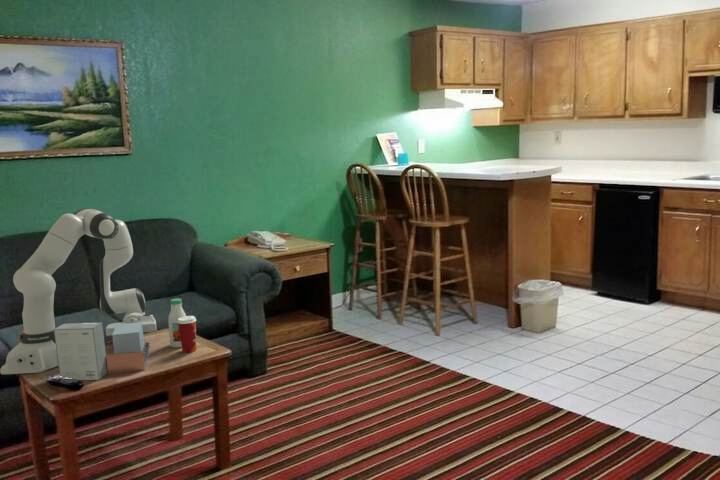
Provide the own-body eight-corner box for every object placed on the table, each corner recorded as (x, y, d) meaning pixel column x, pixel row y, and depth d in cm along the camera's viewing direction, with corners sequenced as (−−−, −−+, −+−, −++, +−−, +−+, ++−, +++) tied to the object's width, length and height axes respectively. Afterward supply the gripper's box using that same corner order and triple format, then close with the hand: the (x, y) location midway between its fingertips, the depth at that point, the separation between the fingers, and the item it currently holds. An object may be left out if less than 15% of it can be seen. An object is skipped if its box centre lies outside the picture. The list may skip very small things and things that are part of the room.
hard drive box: (109, 373, 247) (103, 322, 244) (99, 380, 240) (93, 328, 237) (70, 373, 249) (64, 322, 246) (59, 380, 242) (52, 328, 238)
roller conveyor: (108, 374, 246) (106, 356, 245) (117, 350, 274) (115, 334, 272) (144, 369, 249) (142, 352, 248) (149, 346, 276) (148, 331, 275)
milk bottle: (167, 348, 274) (163, 301, 271) (175, 342, 282) (171, 297, 278) (184, 348, 273) (180, 301, 270) (192, 342, 280) (188, 297, 277)
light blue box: (114, 357, 255) (112, 334, 253) (118, 346, 268) (116, 324, 267) (141, 354, 257) (139, 332, 256) (144, 343, 271) (142, 322, 269)
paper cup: (201, 351, 268) (198, 318, 266) (183, 355, 264) (180, 321, 262) (194, 346, 275) (192, 314, 272) (177, 350, 271) (174, 317, 268)
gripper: (106, 319, 279) (102, 328, 266) (156, 314, 284) (154, 323, 270) (108, 333, 280) (103, 343, 267) (157, 328, 285) (156, 337, 271)
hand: (129, 333), depth 269 cm, fingers closed, pressing on light blue box
